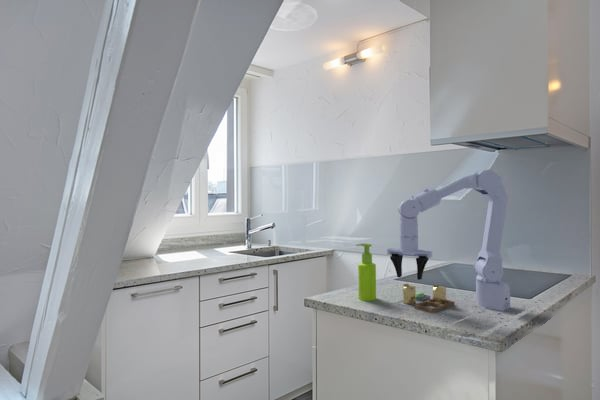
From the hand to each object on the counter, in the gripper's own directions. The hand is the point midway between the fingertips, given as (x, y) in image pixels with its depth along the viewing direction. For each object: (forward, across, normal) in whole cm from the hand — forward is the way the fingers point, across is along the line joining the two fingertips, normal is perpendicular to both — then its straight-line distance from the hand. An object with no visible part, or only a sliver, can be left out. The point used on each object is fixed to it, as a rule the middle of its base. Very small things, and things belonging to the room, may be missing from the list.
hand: (409, 278), depth 128 cm
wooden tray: (+9, -8, 0) cm, 12 cm away
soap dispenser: (+10, +14, +2) cm, 18 cm away
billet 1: (+9, 0, 0) cm, 9 cm away
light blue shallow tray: (+9, 0, 0) cm, 9 cm away
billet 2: (+9, -9, -3) cm, 13 cm away
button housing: (+9, -1, -7) cm, 12 cm away
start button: (+9, -1, -7) cm, 12 cm away
